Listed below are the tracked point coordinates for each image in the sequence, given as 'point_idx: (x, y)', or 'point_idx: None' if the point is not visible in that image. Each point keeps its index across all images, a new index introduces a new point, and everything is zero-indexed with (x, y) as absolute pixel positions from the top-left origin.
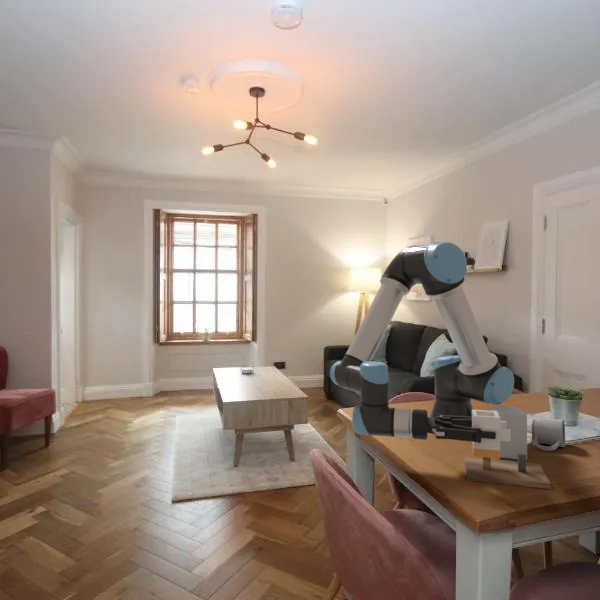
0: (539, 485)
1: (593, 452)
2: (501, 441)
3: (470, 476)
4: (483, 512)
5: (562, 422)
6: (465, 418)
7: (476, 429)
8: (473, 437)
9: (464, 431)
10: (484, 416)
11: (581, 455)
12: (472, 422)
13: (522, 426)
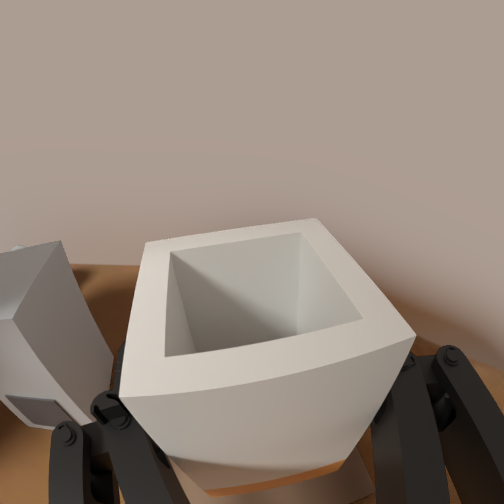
0: None
1: (73, 264)
2: (79, 384)
3: (371, 482)
4: (499, 385)
5: (26, 247)
6: (87, 495)
7: (416, 370)
8: (443, 395)
9: (497, 409)
10: (354, 272)
11: (84, 276)
12: (259, 436)
13: (70, 285)
